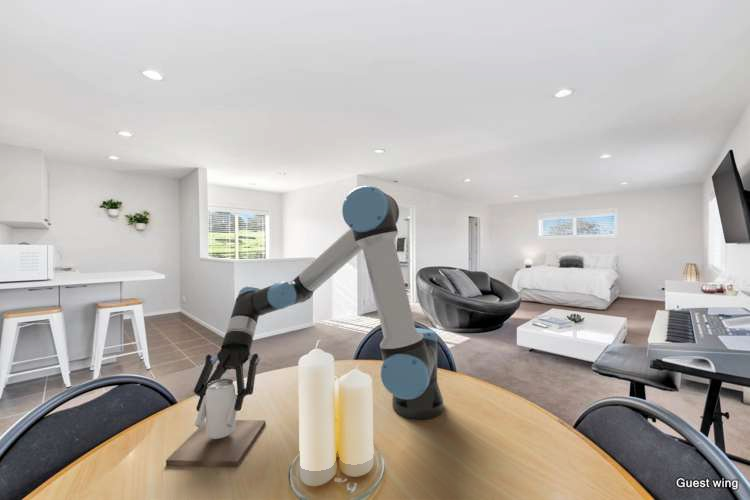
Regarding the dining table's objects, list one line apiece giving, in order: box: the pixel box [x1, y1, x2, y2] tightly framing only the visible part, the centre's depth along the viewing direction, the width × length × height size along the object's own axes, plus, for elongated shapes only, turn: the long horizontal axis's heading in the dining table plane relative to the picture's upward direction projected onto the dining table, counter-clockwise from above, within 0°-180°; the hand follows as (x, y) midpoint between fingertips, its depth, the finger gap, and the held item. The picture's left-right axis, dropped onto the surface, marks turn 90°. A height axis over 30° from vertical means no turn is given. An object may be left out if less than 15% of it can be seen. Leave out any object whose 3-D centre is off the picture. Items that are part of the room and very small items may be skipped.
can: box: [205, 378, 236, 439], centre depth 77 cm, size 6×6×12 cm
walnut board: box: [165, 419, 266, 468], centre depth 77 cm, size 16×16×1 cm
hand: (214, 425), depth 73 cm, fingers closed on can, 6 cm apart
